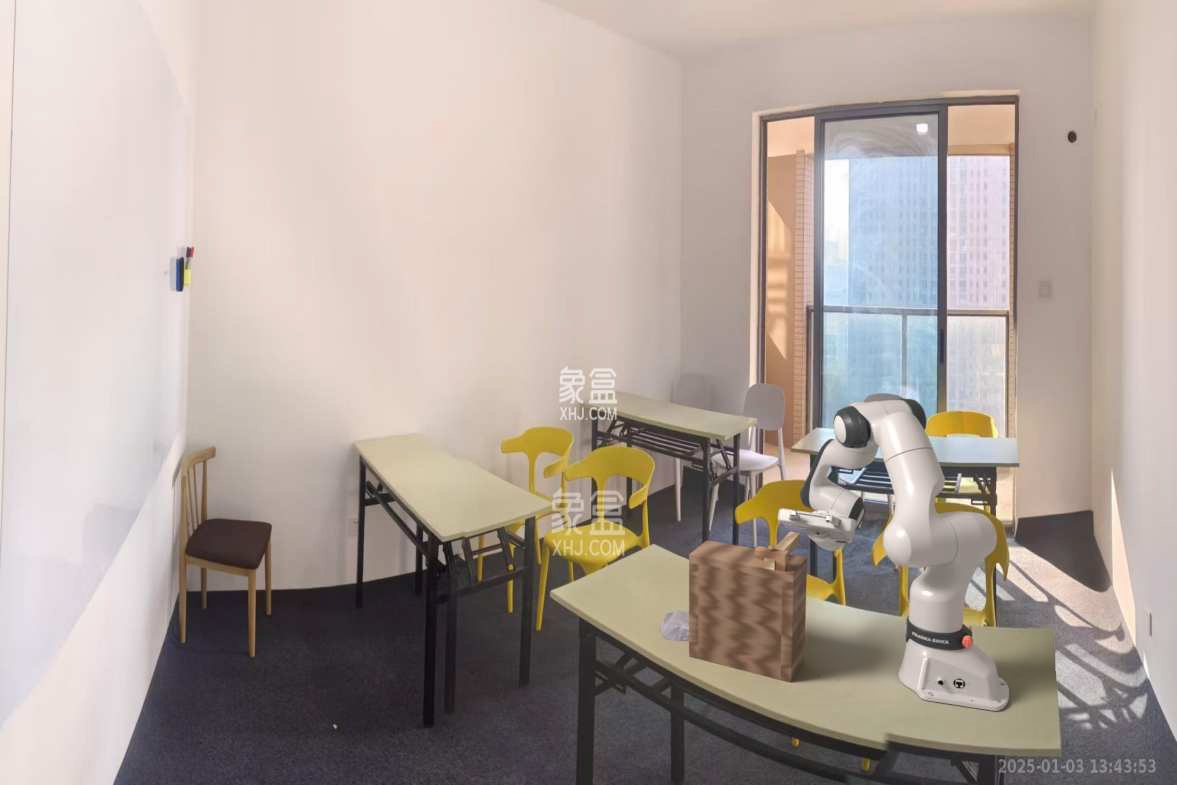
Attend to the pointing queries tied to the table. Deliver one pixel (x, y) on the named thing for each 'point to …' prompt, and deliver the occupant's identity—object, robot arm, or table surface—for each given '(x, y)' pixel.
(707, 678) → the table surface
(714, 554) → the wood grain box
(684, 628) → the lavender lumpy chunk
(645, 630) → the table surface
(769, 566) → the marking gauge
